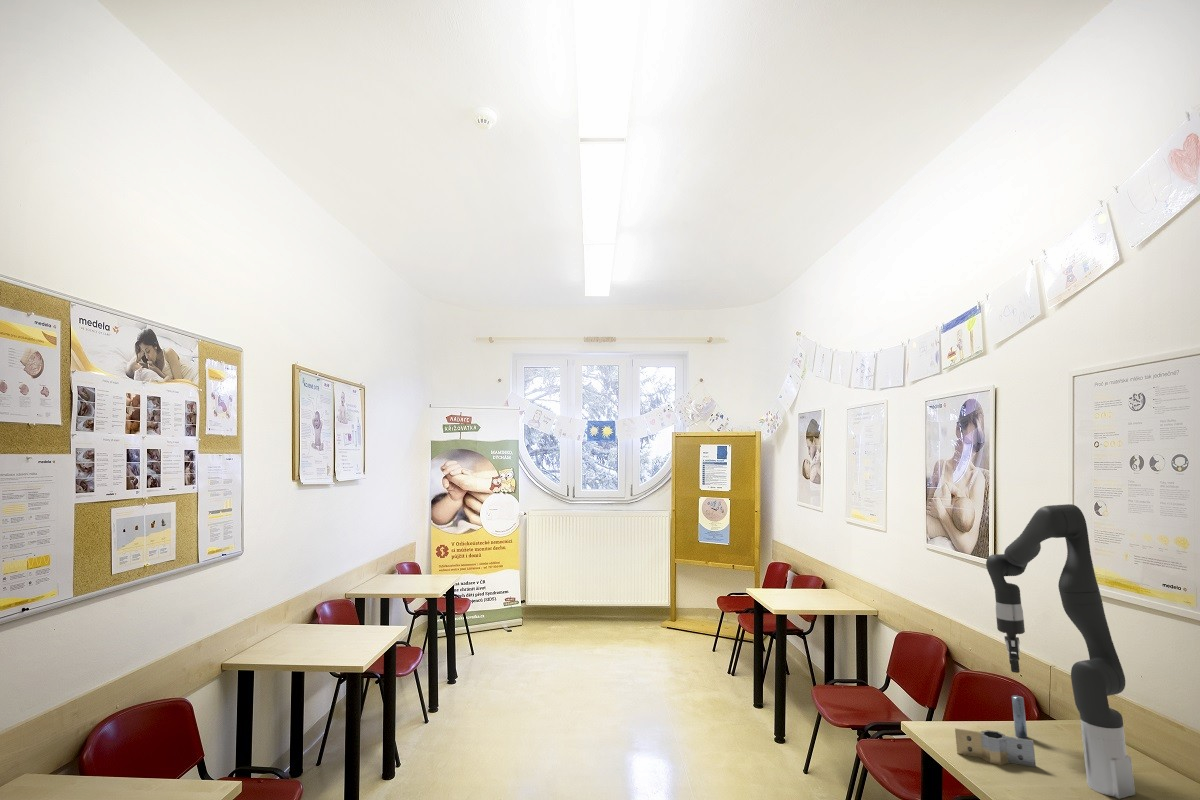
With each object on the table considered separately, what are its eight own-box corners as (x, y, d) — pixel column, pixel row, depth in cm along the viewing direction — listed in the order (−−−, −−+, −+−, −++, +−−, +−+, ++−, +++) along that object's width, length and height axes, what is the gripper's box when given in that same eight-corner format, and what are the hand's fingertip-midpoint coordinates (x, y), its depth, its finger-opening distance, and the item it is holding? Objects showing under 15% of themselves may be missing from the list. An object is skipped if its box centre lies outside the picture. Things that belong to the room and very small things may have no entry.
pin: (1029, 737, 202) (1025, 698, 203) (1022, 739, 201) (1018, 699, 202) (1020, 733, 205) (1016, 694, 206) (1013, 735, 204) (1009, 696, 205)
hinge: (1034, 761, 186) (1032, 736, 187) (1036, 771, 180) (1034, 745, 181) (957, 748, 196) (955, 725, 196) (957, 757, 190) (954, 732, 191)
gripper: (1025, 622, 198) (1030, 676, 197) (1021, 612, 211) (1026, 663, 209) (997, 620, 202) (1001, 673, 201) (995, 610, 214) (999, 660, 213)
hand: (1014, 668), depth 205 cm, fingers open, 8 cm apart
